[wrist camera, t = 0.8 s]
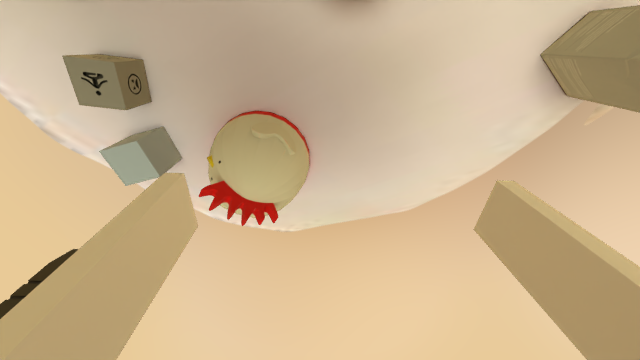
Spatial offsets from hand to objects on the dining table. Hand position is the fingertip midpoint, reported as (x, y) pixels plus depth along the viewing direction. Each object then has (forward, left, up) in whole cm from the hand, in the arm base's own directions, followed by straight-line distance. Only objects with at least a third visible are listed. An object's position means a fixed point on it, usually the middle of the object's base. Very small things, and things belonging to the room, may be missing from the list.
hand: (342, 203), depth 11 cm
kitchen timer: (+4, -12, -25) cm, 28 cm away
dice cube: (-13, -22, -25) cm, 35 cm away
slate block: (-4, -25, -25) cm, 35 cm away
